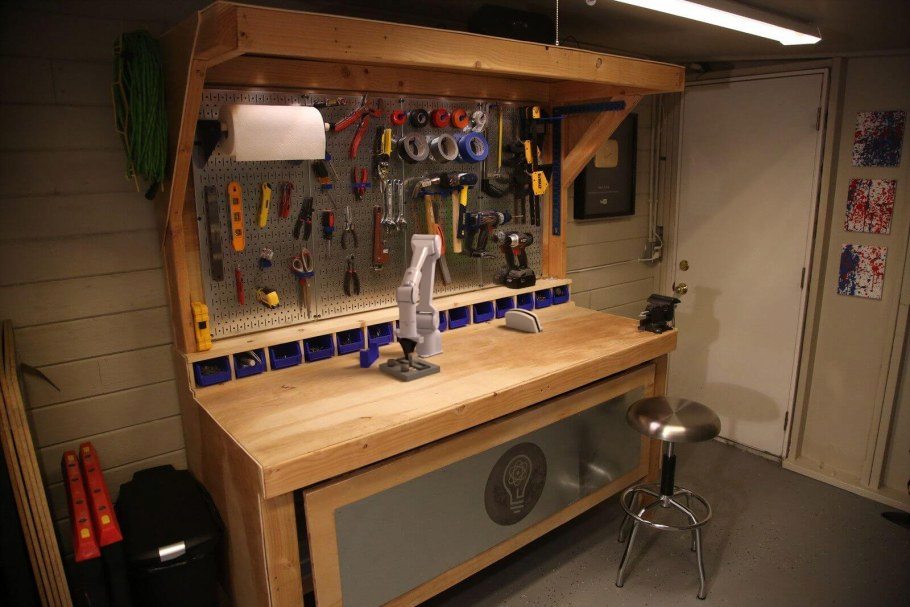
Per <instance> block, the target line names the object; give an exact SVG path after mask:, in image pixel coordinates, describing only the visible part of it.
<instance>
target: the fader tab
mask: <svg viewBox="0 0 910 607" xmlns="http://www.w3.org/2000/svg"><path fill="white" fill-rule="evenodd" d="M408 355H409V364H412V365H416V364H418V358H419V356H418V353H416V352H412V353H408Z"/></svg>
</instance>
